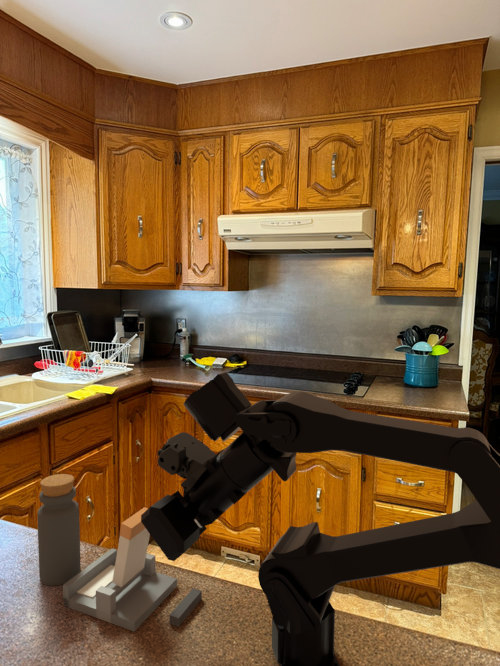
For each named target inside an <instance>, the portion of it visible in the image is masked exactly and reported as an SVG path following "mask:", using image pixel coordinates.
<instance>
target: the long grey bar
mask: <svg viewBox="0 0 500 666" xmlns="http://www.w3.org/2000/svg"><path fill="white" fill-rule="evenodd" d="M202 592H203V591H202V590H200V589H197V588H194V587H193V588H192V589H191V590H190V591H189V592H188V593H187V594H186V595H185V597H184V598H183V599H182V600H181V601H180V603H178V605H177V606H176V607H175V608H174V609H173V611H172V612H171V613H170V614H169V615H168V616H169V618H168V619H169V625H172V626H176V627H180V626H181V624H182V623H183V622H184V621H185V620H186V619H187V618H188V617H189V615H190V614H191V612H192V611H193V610H194V609H195V607H196V606H198V604H199V603H200V602H201V601H202V598H203V596H202V595H203V593H202Z"/></svg>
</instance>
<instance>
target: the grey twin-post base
mask: <svg viewBox="0 0 500 666" xmlns="http://www.w3.org/2000/svg"><path fill="white" fill-rule="evenodd" d="M117 550H118V549H116V548H110V549H109V550H108V551H107V552H105V553H104V554H103V555H101V556H99V557H98V558H97V559H95V560H94V561H93V562H92V563H90V564H89V565H88V566H86V567H85V568H84V569H82V570H80V573H78V574H77V575H76V576H74V577H73V578H72V579H70V580H69V581H68V582H66V583H65V584H62V599H63V600H62V602H63V603H62V605H63V606H64V607H66V608H68V609H72V610H74V611H77V612H78V613H79V612H80V613H82V614H85V615H88V616H90V617H93V618H95V619H99V620H100V621H101V620H102V621H104V622H107V623H110V624H113V625H114V626H118V627H121V628H124V629H126V630H129V631H131V632H136V630H138V628H140V626H141V625H142V624H143V623H144V622H145V621H146V620H147V619H148V618H149V617H150V616H151V615H152V614H153V613H154V612H155V610H156V609H157V608H158V607H159V606H160V605H161V604H162V603H163V602H164V601H165V600H166V599H167V598H168V596H169V595H171V594H172V593H173V592H174V590H175V589H176V588H178V578H176V577H173V576H170V575H167V574H164V573H160V572H156V554H155V555H154V554H151V553H148V552H147V554H146V559H145V567H146V570H145V571H144V572H143V573H142V574H141V575H140V576H139V577H138V578H137V579H135V580H134V581H133V582H132V583H131V584H130V585H129V586H128V587H127V588H125V589H124V590H123V591H122V592H121V593H120V594H119V595H118V596H117V597H116V590H113V589H112V588H113V587H114V586H115V585H116V584H115V583H113V582H112V580H113V574H114V568H115V562H116V556H117ZM164 599H165V600H164Z"/></svg>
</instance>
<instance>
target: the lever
mask: <svg viewBox="0 0 500 666" xmlns="http://www.w3.org/2000/svg"><path fill="white" fill-rule="evenodd" d="M148 508H149V507H146V506H144V507H143V508H141V509H140V510H138V511H137V512H136V513H134V514H133V515H131V516H129V517H128V518H127V519H125V520H124V521H122V522H121V523H120V530H119V539H118V545H117V546H118V547H117V549H116V550H117V556H116V562H115V568H114V574H113V580H112V582H113V583H115V584H116V585H115V586H114V587H113V588H112V589H113V590H116V597H117V596H118V595H119V594H120V593H121V592H122V591H123V590H124V589H125V588H127V587H128V586H129V585H130V584H131V583H132V582H133V581H134V580H135V579H137V578H138V577H139V576H140V575H141V574H142V573H143V572H144V571H145V570H146V567H145V559H146V554H147V553H148V547H149V541H150V537H151V535H150V533H149V532H148V531H147V529H146V528H145V526H144V525H143V524H142V522H141V515H142V514H143V513H144V512H145V511H146V510H147V509H148Z"/></svg>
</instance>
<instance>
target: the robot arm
mask: <svg viewBox="0 0 500 666" xmlns="http://www.w3.org/2000/svg"><path fill="white" fill-rule="evenodd" d="M183 406H184V407H185V409H186V411H188V413H189V414H190V415H191V416H192V418H193V419H194V420H195V421H196V423H197V424H198V425H199V426H200V428H201V429H202V430H203V432H204V433H205V434H206V435H207V437H208V438H209V439H210V440H211V441H213V443H214V442H217V440H219V439H220V440H222V442H226V441H228V440H229V439H230V438H231V437H232V436H234V435H235V434H236V433H237V432H238V431H240V430H241V431H242V432H241V433H240V435H238V436H237V437H236V438H235V439H234V440H233V441H231V443H229V445H227V446H226V447H225V448H224V449H221V450H220V451H219V452H217V454H216V452H214V451H213V450H211V448H210V447H209V446H208V445H206V444H205V443H204V442H202V441H200V440H199V439H198V438H196V437H195V436H193V435H192V434H190V433H189V432H179V433H178V434H176V435H174V436H171V437H170V438H168V439H167V441H166V443H164V444H163V445H162V447H161V448H160V449H158V450H157V453H156V455H157V456H158V458H157V460H156V462H157V465H158V466H159V468H160V469H163V470H164V471H165V472H167V473H168V474H169V475H171V476H174V475H177V476H179V477H181V478H182V479H185V480H184V481H182V482H181V483H180V486H181V487H182V489H183V492H182V493H183V495H182V493H181V492H180V491H179V490H177V491H175V492H174V493H172V494H171V495H170V494H166V495H164V496H163V497H162V498H161V499H159V500H158V501H156V502H155V503H153V504H152V505H150V506H149V507H147V508H148V509H147V510H146V511H145V512H144V513H143V514H142V515H141V522H142V524H143V525H144V526H145V528H146V529H147V531H148V532H149V533H150V537H151V538H152V540H154V542H155V543H156V545H157V546H158V547H159V549H160V550H161V551H162V553H163V555H165V557H166V559H167V560H168V561H172V562H175V561H177V560H178V559H179V558H180V557H181V556H182V555H184V553H186V552H187V551H188V550H189V549H190V548H191V547H192V546H193V545H194V544H195V543H196V542H198V540H199V539H200V536H201V535H203V533H204V532H205V531H206V530H207V526H209V525H213V523H215V521H217V520H218V519H219V518H220V517H221V516H222V515H223V514H224V513H225V512H226V511H228V509H230V508H231V507H232V506H233V505H235V504H236V503H238V502H239V501H240V500H241V499H242V498H243V497H244V496H245V495H246V494H247V493H248V492H249V491H251V490H252V489H253V488H254V487H256V486H257V485H258V484H259V483H260V482H261V481H263V480H264V479H265V478H266V477H267V476H268V475H269V474H271V473H272V472H273V471H274V472H275V473H276V474H277V476H278V477H279V478H280V479H281V481H283V482H287V481H288V480H289V479H290V478H291V477H292V476H293V474H294V473H295V472H297V461H296V457H297V454H313V453H321V452H322V453H323V452H330V451H343V452H349V453H352V454H353V453H354V454H358V455H359V454H360V455H364V456H369V457H375V458H378V459H379V458H380V459H384V460H389V461H395V462H400V463H404V464H409V465H413V466H414V465H415V466H419V467H425V468H428V469H429V468H430V469H435V470H441V471H445V472H451V473H455V474H456V475H457V476H458V477H459V478H460V479H461V480H462V482H463V483H464V485H465V486H466V487H467V488H468V490H469V492H471V494H472V495H473V497H474V498H475V500H474V501H471V503H469V504H467V505H466V506H464V507H463V508H461V509H459V510H458V511H456V512H452V513H446V514H442V515H436V516H432V517H426V518H423V519H418V520H412V521H408V522H402V523H397V524H392V525H387V526H382V527H376V528H373V529H368V530H362V531H358V532H353V533H347V534H343V535H338V536H335V535H334V536H333V535H329V534H326V533H323V532H321V530H320V527H319V523H318V521H313V522H311V523H308V524H305V525H304V526H294V525H293V526H292V525H290V526H289V527H288V529H287V530H286V531H285V532H284V534H282V535H281V536H280V537H279V539H278V540H277V542H276V543H275V544H274V546H272V548H271V550H270V552H268V554H267V555H266V557H265V559H264V560H263V561H262V562H261V564H260V567H259V569H258V577H257V578H258V582H259V586H260V588H261V590H262V592H263V593H264V595H265V597H266V599H267V604H268V607H269V609H270V612H271V616H272V617H271V649H272V651H273V655H274V658H275V660H276V662H277V664H278V665H280V666H341V665H340V662H339V660H338V658H337V657H336V655H335V628H336V627H335V623H336V620H335V619H336V610H335V609H334V606H333V605H332V604H331V602H330V599H331V597H332V595H333V592H334V589H335V587H336V586H337V585H339V584H342V583H347V582H353V581H359V580H365V579H372V578H377V577H378V578H379V577H383V576H384V577H385V576H391V575H397V574H403V573H411V572H417V571H423V570H431V569H436V568H443V567H449V566H454V565H459V564H460V565H461V564H467V563H468V564H469V563H472V564H473V563H476V564H479V565H483V566H486V567H491V568H493V569H497V570H500V453H499V452H497V450H496V449H495V448H493V446H492V445H491V444H490V443H489V441H488V439H487V438H486V436H485V435H484V434H483V433H482V432H481V431H479V430H477V429H476V428H475V429H474V428H472V427H452V426H446V425H439V424H434V423H428V422H426V423H425V422H422V421H415V420H409V419H402V418H397V417H390V416H383V415H377V414H371V413H364V412H358V411H355V410H354V411H353V410H350V409H346V408H344V407H341V406H339V405H337V404H336V403H334V402H333V401H330V400H329V399H326V398H323V397H320V396H317V395H314V394H311V393H308V392H304V391H291V392H288V393H287V394H286V395H283V396H282V397H280V398H278V399H265V400H262V399H261V400H259V401H256V402H255V403H253V404H252V403H251V402H250V400H249V399H248V398H247V396H246V395H244V393H243V392H242V391H241V390H240V388H239V387H238V386H237V385H236V383H235V382H234V380H233V378H232V377H231V375H230V374H229V373H228V372H227V371H224V372H220V373H217V374H216V376H214V377H213V379H211V380H209V381H208V382H206V383H204V385H202V386H201V387H200V388H199V389H197V390H194V391H192V393H190V395H189V396H188V397H187V398H186V399H185V400H184V402H183Z"/></svg>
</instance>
